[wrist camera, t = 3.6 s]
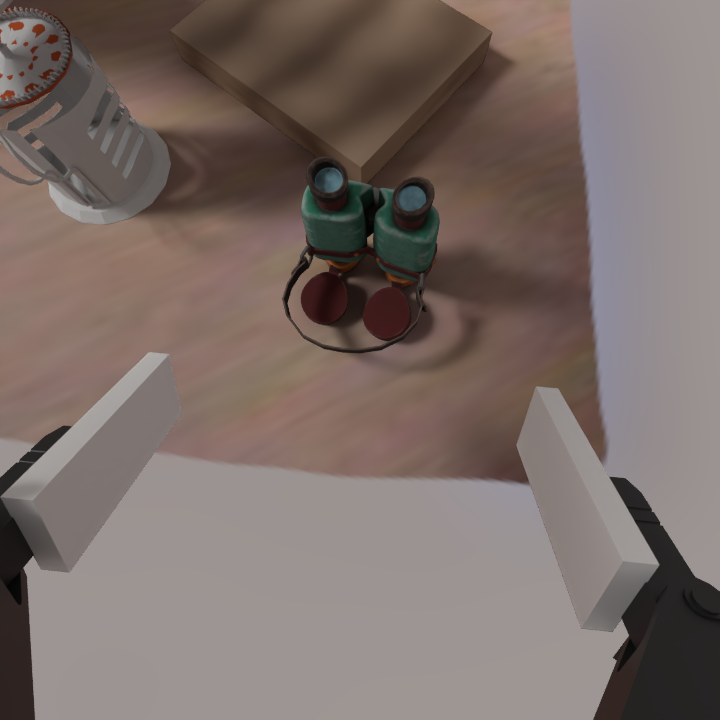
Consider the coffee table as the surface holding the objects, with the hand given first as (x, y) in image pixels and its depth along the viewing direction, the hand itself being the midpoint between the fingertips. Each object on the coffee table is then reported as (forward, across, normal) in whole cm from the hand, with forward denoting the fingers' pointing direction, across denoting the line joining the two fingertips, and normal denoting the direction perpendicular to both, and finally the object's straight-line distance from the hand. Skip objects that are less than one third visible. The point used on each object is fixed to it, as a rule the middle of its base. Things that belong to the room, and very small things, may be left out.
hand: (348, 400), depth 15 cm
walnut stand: (+31, -5, +12) cm, 34 cm away
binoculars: (+16, 0, -3) cm, 16 cm away
